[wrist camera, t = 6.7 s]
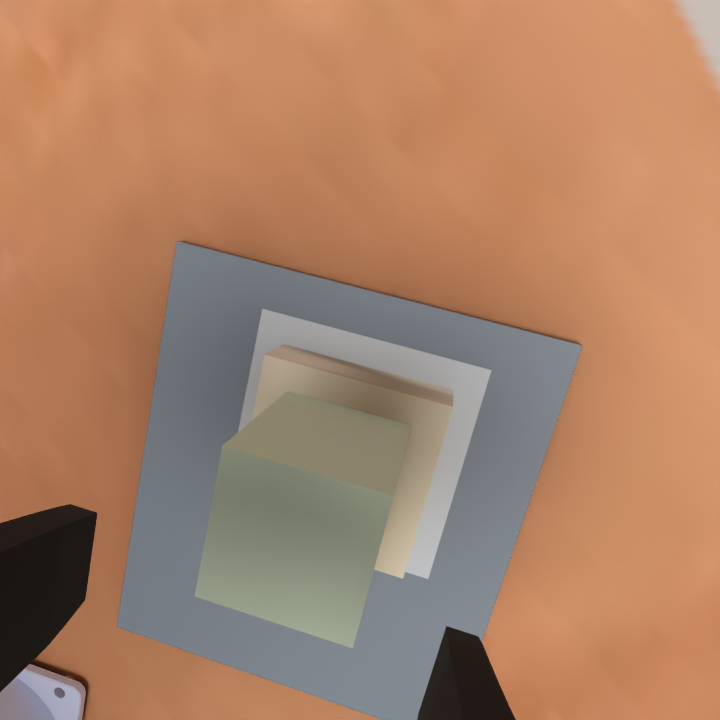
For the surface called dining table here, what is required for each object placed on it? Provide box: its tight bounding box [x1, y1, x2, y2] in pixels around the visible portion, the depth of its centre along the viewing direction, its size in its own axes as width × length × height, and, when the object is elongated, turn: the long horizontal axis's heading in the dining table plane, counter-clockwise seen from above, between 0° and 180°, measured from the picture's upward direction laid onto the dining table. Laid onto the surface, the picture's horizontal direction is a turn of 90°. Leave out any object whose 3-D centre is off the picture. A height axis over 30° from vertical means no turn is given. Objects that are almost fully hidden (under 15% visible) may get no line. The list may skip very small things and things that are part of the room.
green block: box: [195, 391, 412, 648], centre depth 15 cm, size 4×4×5 cm
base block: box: [251, 344, 453, 579], centre depth 19 cm, size 6×6×2 cm
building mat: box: [117, 241, 582, 720], centre depth 20 cm, size 14×16×1 cm
